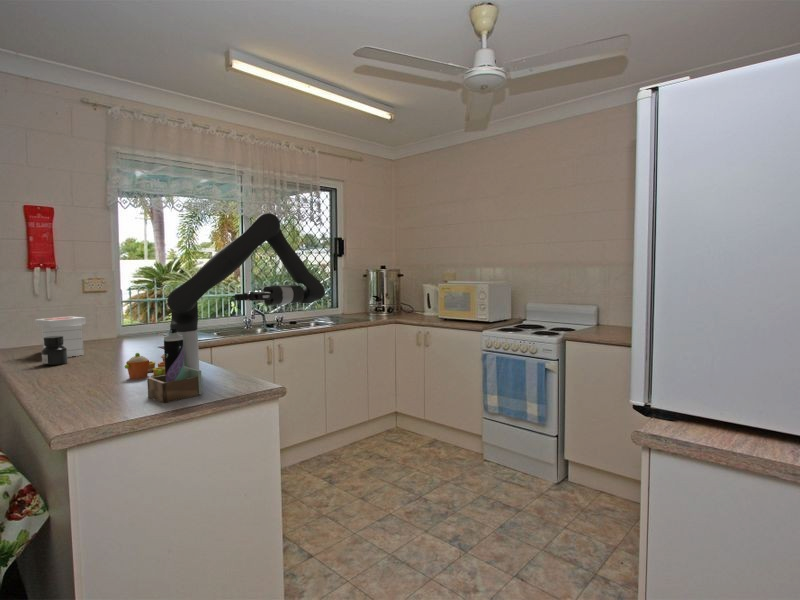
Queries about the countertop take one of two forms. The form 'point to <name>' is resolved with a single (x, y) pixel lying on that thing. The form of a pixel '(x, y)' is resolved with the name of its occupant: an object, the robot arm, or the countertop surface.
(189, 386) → the frame
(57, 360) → the ink bottle
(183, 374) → the spray can
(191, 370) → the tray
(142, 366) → the toy tea set
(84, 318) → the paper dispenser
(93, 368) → the countertop surface
